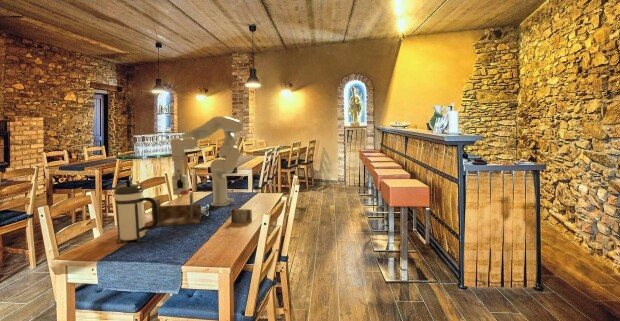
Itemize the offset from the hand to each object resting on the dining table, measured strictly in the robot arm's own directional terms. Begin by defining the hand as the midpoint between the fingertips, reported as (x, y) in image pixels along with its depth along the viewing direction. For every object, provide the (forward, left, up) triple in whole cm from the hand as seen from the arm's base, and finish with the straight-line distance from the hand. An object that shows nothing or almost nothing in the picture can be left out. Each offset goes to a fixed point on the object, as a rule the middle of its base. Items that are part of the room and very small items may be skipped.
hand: (180, 186), depth 223 cm
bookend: (-9, +16, -15) cm, 24 cm away
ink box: (0, 0, -5) cm, 5 cm away
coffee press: (+18, +45, -17) cm, 52 cm away
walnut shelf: (+1, +16, -17) cm, 24 cm away
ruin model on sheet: (-35, +29, -18) cm, 49 cm away
